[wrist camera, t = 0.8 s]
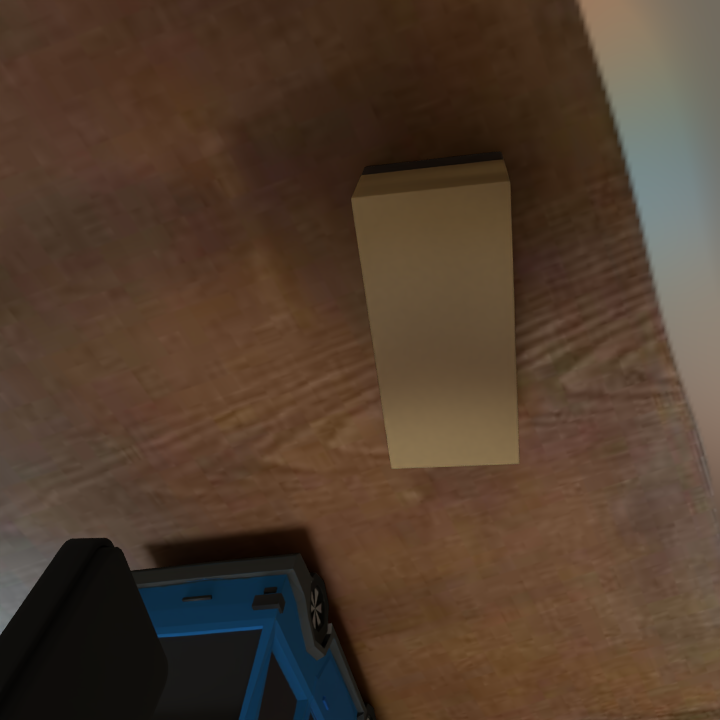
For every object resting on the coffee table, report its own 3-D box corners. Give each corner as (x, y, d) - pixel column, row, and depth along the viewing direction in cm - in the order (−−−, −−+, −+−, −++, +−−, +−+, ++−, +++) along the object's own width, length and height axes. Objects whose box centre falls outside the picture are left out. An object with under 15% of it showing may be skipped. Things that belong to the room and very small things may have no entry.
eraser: (364, 166, 25) (350, 198, 22) (501, 150, 24) (510, 180, 21) (397, 412, 30) (390, 469, 27) (511, 406, 29) (519, 464, 26)
